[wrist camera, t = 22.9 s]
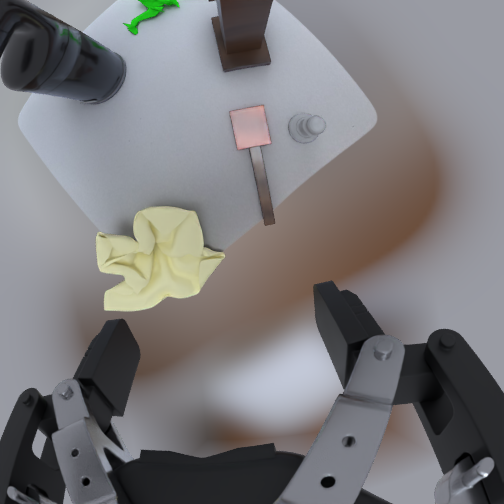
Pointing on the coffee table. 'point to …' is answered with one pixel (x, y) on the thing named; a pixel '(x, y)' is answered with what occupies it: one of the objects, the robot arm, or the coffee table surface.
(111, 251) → the cloth
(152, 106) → the coffee table surface
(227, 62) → the wooden pedestal stand
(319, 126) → the chess piece
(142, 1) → the figurine
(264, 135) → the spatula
